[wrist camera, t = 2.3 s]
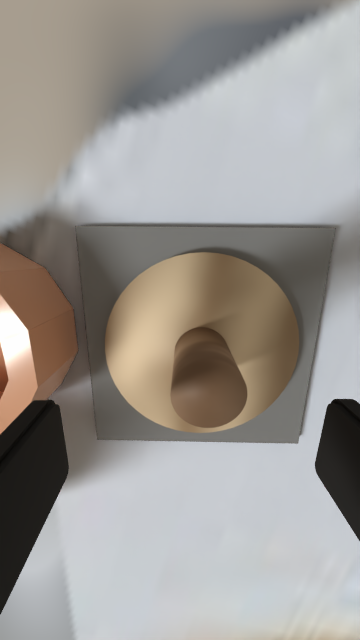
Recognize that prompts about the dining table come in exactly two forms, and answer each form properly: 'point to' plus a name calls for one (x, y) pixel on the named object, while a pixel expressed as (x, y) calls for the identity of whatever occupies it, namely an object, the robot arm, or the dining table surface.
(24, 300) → the bowl
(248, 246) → the mat
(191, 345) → the lid
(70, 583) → the dining table surface
